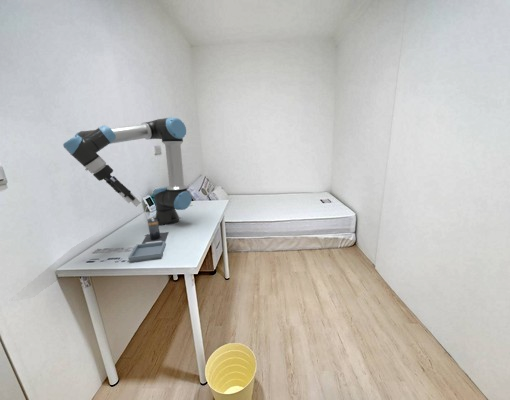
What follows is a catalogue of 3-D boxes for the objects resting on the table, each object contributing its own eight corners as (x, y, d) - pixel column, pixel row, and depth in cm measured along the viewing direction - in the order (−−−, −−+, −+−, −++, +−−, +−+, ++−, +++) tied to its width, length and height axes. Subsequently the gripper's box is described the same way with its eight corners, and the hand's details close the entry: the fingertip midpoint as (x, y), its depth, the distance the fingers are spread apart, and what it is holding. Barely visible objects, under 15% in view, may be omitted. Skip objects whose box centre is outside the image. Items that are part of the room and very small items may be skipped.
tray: (137, 249, 117) (136, 244, 116) (165, 245, 120) (165, 241, 119) (129, 262, 104) (128, 257, 104) (161, 258, 107) (160, 253, 106)
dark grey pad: (147, 235, 134) (146, 234, 133) (169, 232, 136) (168, 231, 136) (140, 246, 120) (140, 244, 120) (165, 243, 123) (165, 241, 122)
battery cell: (151, 236, 130) (148, 217, 127) (161, 235, 131) (158, 216, 128) (149, 240, 125) (146, 220, 122) (159, 239, 126) (156, 219, 123)
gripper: (88, 173, 112) (122, 205, 123) (96, 175, 93) (135, 211, 104) (102, 164, 115) (133, 195, 126) (112, 163, 96) (148, 200, 107)
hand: (134, 202), depth 115 cm, fingers open, 13 cm apart
